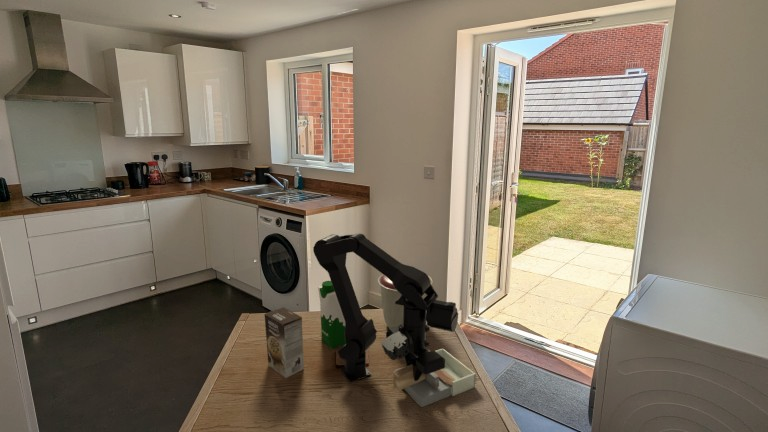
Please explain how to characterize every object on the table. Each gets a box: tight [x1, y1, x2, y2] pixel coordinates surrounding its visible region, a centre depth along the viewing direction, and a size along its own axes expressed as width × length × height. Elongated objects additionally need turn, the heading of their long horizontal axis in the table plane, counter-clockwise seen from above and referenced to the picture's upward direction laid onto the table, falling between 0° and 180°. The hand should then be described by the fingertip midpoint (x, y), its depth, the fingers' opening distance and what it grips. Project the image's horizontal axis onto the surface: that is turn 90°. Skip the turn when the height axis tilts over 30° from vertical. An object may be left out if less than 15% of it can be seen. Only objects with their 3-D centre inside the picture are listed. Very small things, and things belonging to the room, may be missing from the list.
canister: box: [377, 274, 434, 329], centre depth 138 cm, size 18×18×21 cm
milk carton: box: [317, 280, 346, 350], centre depth 128 cm, size 9×9×20 cm
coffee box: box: [263, 306, 305, 379], centre depth 115 cm, size 9×6×16 cm
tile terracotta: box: [435, 370, 455, 385], centre depth 108 cm, size 4×4×2 cm
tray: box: [435, 348, 476, 397], centre depth 112 cm, size 14×7×4 cm, turn 29°
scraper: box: [392, 364, 439, 392], centre depth 106 cm, size 11×9×4 cm
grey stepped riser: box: [393, 366, 452, 408], centre depth 108 cm, size 13×9×2 cm
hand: (413, 377), depth 106 cm, fingers closed on scraper, 2 cm apart
